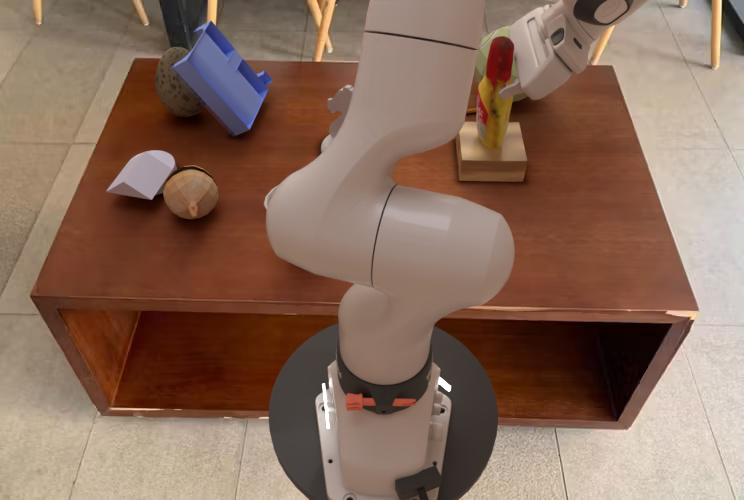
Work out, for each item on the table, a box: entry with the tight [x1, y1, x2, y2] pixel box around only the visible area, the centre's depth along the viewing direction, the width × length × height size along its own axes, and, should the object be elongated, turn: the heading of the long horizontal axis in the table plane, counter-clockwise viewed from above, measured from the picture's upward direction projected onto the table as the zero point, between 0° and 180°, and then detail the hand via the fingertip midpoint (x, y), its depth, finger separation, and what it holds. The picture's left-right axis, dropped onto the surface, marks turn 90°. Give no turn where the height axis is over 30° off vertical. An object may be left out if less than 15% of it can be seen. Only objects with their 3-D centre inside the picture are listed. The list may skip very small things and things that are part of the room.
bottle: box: [475, 36, 514, 149], centre depth 120 cm, size 12×6×20 cm, turn 172°
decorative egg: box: [154, 46, 208, 118], centre depth 137 cm, size 11×11×15 cm
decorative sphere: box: [474, 24, 528, 103], centre depth 141 cm, size 15×15×15 cm
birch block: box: [455, 121, 528, 183], centre depth 130 cm, size 12×12×5 cm
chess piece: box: [320, 84, 354, 154], centre depth 129 cm, size 10×10×15 cm
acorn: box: [161, 164, 220, 220], centre depth 118 cm, size 9×9×15 cm
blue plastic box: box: [171, 20, 273, 137], centre depth 136 cm, size 18×16×7 cm
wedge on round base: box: [105, 149, 178, 201], centre depth 124 cm, size 9×7×13 cm
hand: (497, 80), depth 118 cm, fingers closed on bottle, 8 cm apart
